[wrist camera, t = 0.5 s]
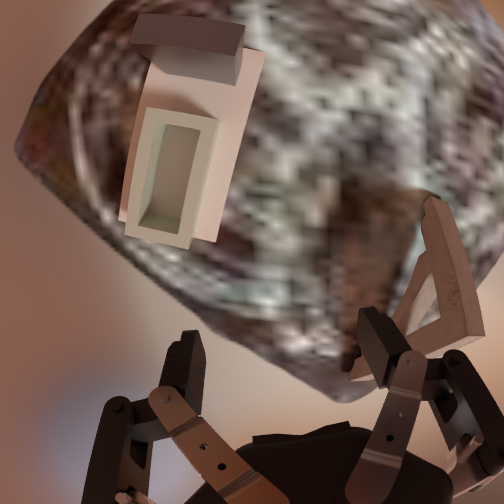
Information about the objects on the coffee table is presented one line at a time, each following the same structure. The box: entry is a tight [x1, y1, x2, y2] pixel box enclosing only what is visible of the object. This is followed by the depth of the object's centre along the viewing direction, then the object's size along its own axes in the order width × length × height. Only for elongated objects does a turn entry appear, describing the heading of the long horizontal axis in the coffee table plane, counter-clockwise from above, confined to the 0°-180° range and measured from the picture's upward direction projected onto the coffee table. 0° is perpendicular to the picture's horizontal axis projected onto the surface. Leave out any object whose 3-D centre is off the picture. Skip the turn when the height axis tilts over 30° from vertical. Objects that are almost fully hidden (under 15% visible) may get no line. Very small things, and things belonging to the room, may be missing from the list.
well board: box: [119, 48, 266, 249], centre depth 31 cm, size 26×14×6 cm, turn 165°
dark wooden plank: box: [128, 13, 245, 86], centre depth 23 cm, size 9×3×14 cm, turn 75°
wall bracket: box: [349, 196, 485, 381], centre depth 44 cm, size 22×4×30 cm
